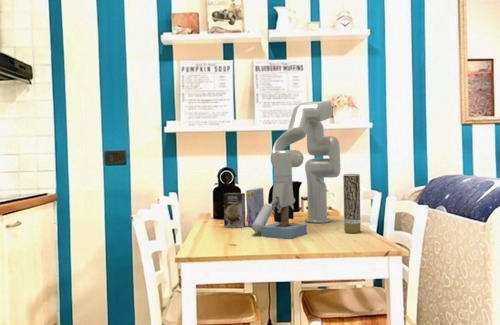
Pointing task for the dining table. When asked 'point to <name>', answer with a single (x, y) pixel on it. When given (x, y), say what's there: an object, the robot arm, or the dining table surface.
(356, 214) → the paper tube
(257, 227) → the tube
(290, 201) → the robot arm
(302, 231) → the socket
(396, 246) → the dining table surface
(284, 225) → the peg
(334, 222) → the dining table surface
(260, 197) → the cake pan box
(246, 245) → the dining table surface
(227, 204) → the coffee box
